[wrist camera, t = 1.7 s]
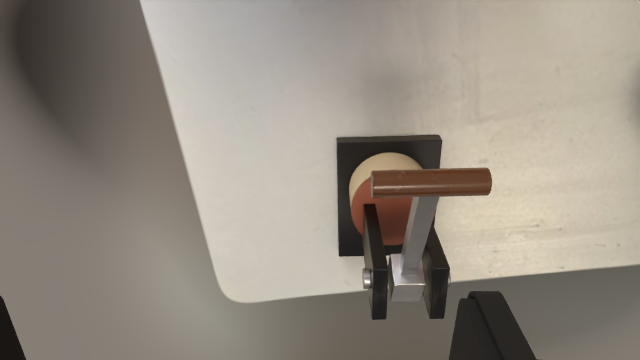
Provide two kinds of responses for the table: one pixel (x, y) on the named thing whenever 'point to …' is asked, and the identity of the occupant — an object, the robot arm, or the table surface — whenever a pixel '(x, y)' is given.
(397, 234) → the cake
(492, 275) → the table surface
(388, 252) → the bracket
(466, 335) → the robot arm
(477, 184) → the lever
